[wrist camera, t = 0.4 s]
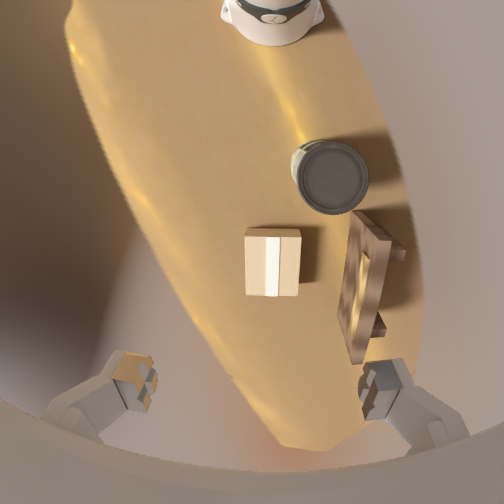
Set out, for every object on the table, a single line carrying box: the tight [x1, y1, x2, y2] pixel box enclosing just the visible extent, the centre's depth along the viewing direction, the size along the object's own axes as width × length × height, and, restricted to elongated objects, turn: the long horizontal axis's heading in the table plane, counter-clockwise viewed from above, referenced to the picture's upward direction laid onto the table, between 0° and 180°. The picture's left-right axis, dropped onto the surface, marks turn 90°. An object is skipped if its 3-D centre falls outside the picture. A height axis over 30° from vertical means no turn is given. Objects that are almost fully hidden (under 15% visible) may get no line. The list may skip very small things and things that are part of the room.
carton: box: [245, 228, 301, 296], centre depth 56 cm, size 12×10×5 cm
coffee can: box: [291, 140, 369, 215], centre depth 44 cm, size 10×10×14 cm
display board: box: [337, 211, 406, 365], centre depth 50 cm, size 24×7×16 cm, turn 0°
